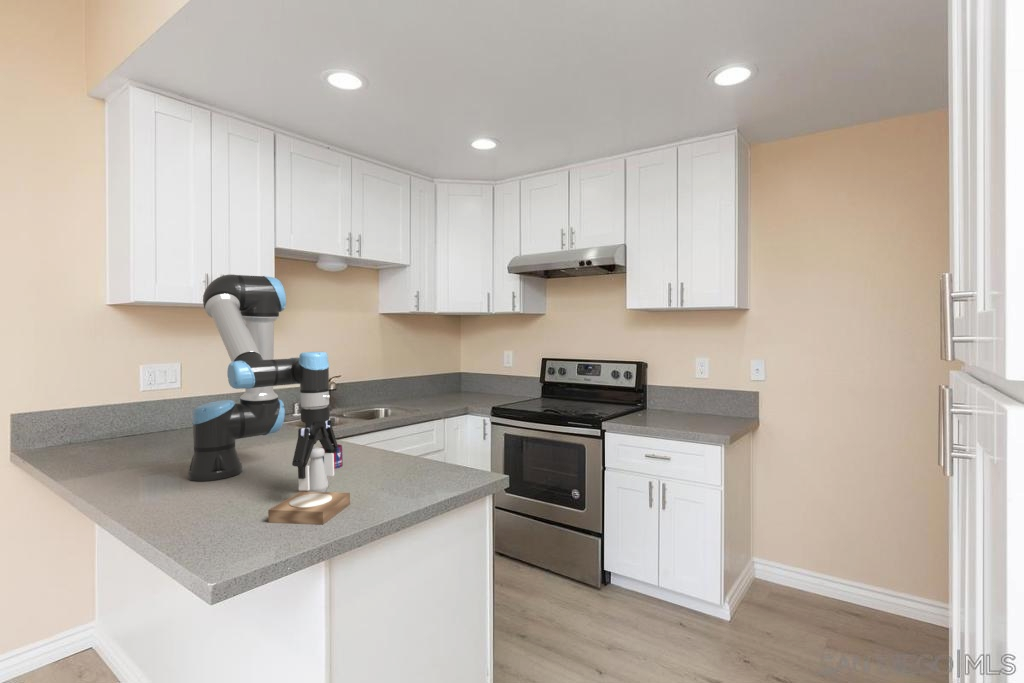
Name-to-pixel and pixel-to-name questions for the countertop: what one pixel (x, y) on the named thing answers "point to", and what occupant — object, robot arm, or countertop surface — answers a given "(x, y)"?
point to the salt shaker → (317, 471)
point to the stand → (309, 508)
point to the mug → (337, 457)
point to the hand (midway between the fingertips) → (317, 482)
